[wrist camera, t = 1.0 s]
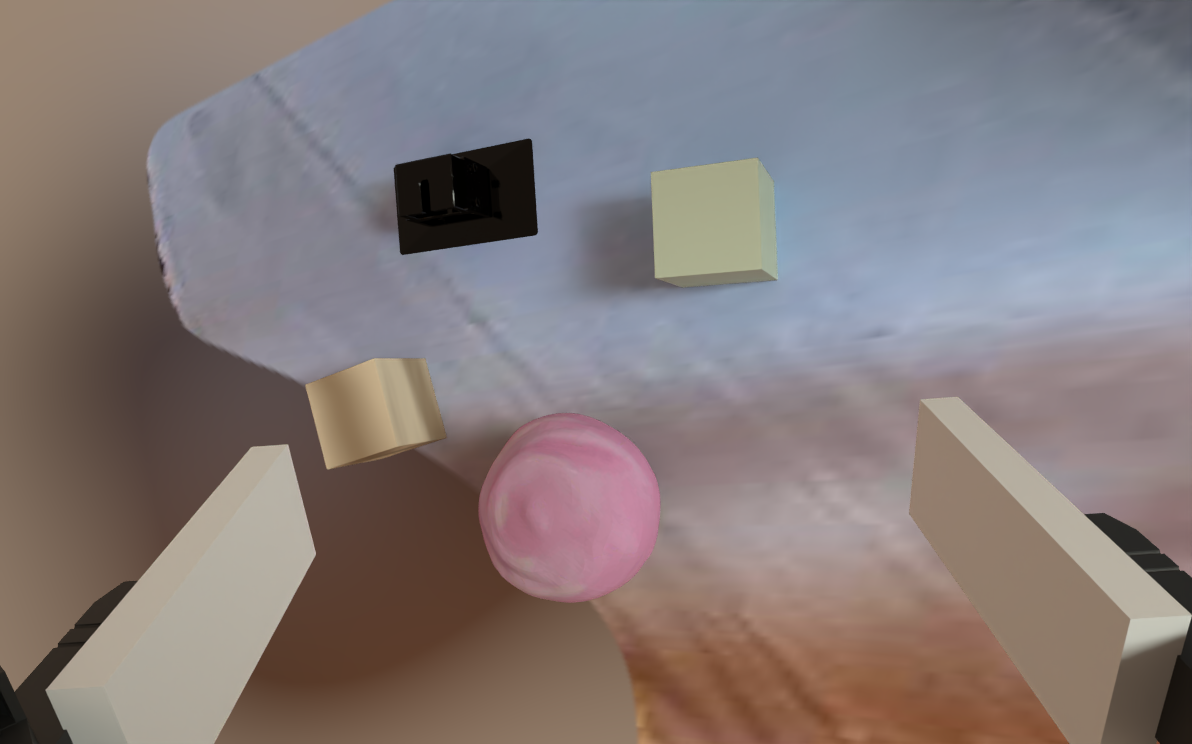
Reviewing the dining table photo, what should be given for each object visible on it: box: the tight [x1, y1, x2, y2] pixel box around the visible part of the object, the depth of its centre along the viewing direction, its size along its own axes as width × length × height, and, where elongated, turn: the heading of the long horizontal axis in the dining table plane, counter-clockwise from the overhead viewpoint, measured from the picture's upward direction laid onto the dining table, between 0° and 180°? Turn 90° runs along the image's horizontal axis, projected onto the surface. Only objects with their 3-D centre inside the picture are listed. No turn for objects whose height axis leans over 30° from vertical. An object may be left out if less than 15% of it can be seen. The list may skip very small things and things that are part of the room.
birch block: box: [305, 358, 447, 469], centre depth 45 cm, size 5×5×5 cm
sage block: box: [651, 158, 778, 288], centre depth 38 cm, size 5×5×5 cm
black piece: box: [394, 139, 538, 255], centre depth 44 cm, size 12×7×5 cm, turn 95°
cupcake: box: [479, 413, 660, 602], centre depth 38 cm, size 9×9×10 cm
